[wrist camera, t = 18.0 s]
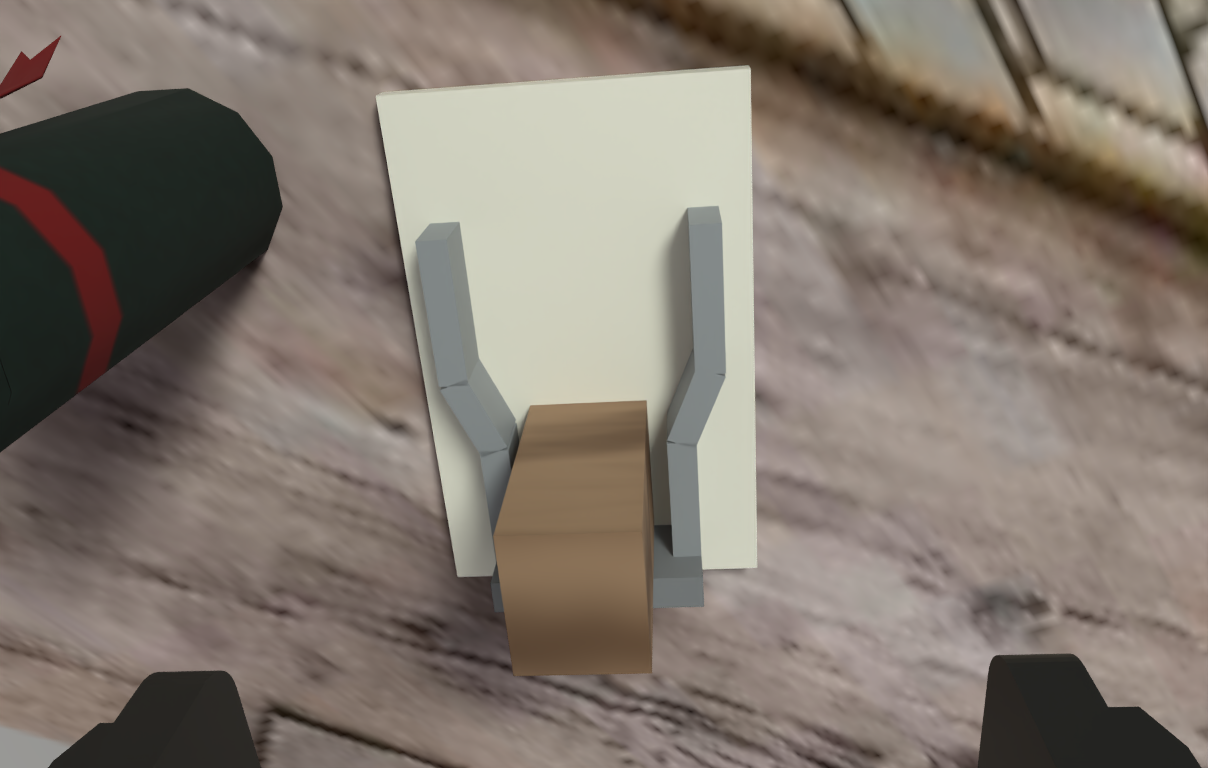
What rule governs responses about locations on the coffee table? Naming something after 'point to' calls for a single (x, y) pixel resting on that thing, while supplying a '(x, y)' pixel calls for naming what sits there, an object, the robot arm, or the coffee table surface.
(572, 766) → the coffee table surface
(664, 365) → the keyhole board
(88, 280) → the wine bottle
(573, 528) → the brown block
